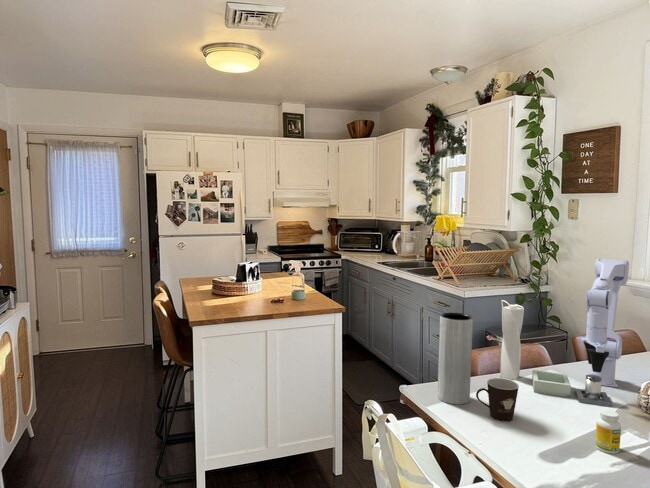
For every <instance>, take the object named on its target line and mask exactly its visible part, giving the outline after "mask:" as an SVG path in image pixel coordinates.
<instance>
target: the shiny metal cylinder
mask: <svg viewBox="0 0 650 488" xmlns="http://www.w3.org/2000/svg"><path fill="white" fill-rule="evenodd" d="M587 374H588V375H587ZM587 374H585V383H584V384H585V385H584V389H585V395H584V398H591V399H598V400H601V397H600V396H601V392H602V391H601V390H602V385H601V381H602V378H601V377H600V376H597V375H592V374H591V373H587Z"/></svg>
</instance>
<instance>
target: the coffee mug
mask: <svg viewBox="0 0 650 488" xmlns="http://www.w3.org/2000/svg"><path fill="white" fill-rule="evenodd" d="M486 384H487V388H486V387H485V388H484V387H482V388H480V389H478V390H477V391H476V393H475V397H476V399H477V401H479V402H480V404H482V405H483V406H485V407H487V408H488V409H489V416H490V418H491V419H493V420H495V421H499V422H502V423H503V422H512V421H513V420H514V414H515V410H516V404H517V400H518V399H517V397H518V393H519V392H518V391H519V389H520V388H519V384H518V383H517V382H515V381H513V380H512V379H508V378H502V377H498V378H497V377H495V378H489V379H488V380H487V383H486ZM482 391H485V392H486V393H487V395H488V396H487V397H488V404H487V403H486V402H484V401H482V400H481V399H480V398H479V393H480V392H482Z"/></svg>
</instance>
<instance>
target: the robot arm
mask: <svg viewBox="0 0 650 488" xmlns="http://www.w3.org/2000/svg"><path fill="white" fill-rule="evenodd" d="M594 274H595V276H596V277H595V279H594V281H593V284H592V286H591V288H590V289H587V291H586V294H585V304H586V312H587V316H586V334H585V335H586V336H585V337H581V341H582V342H583V344H584V347H585V351H586V357H587V363H588V364H589V365H590V374H592V375H597V376H600V377H601V378H602V381H601V386H607V387H611V388H612V387H613V388H618V387H619V385H618V384H617V382H616V380H615V379H616V366H617V360H619V359H621V357H622V353H623V352H622V351H623V339H622V337H621V335H619V334H618V333H617V332H616V331H615V324H616V315H617V314H616V313H617V307H618V297H619V291H620V288H621V286H624V285H627V282H628V280H629V274H630V261H629V260H627V259H612V258H609V259H608V258H601V257H599V258H597V259H596V260H595V265H594ZM588 374H589V373H587V374H586V375H588Z"/></svg>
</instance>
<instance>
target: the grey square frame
mask: <svg viewBox="0 0 650 488" xmlns="http://www.w3.org/2000/svg"><path fill="white" fill-rule="evenodd" d="M574 393H575V395H576V399H577V401H578V402H579V403H580V404H581V403H582V404H590V405H596V406H604V407H609V408H611V407H612V401H611V399H610V398H609V396H608V393H607V392H605V391H601V396H600V400H598V399H591V398H585V388H584V389H583V388H576V387H574Z"/></svg>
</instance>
